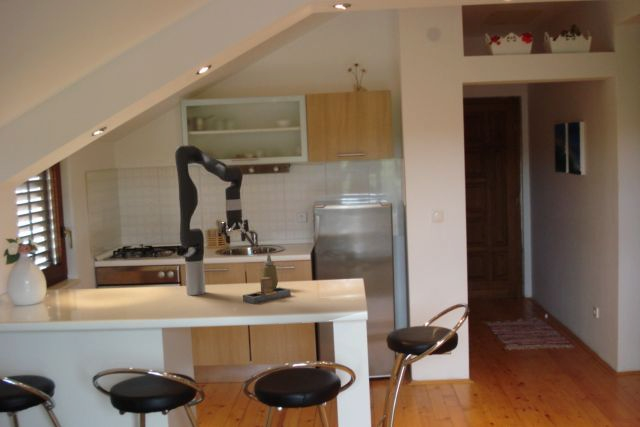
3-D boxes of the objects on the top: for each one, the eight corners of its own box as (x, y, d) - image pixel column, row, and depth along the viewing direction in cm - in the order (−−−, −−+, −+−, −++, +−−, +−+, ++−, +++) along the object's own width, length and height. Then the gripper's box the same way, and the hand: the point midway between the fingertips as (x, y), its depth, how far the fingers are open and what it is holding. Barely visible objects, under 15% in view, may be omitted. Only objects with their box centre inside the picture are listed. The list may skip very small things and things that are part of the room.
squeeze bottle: (281, 288, 362) (279, 253, 360) (272, 291, 356) (270, 256, 354) (268, 287, 367) (267, 252, 365) (259, 290, 360) (257, 255, 358)
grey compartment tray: (242, 301, 336) (242, 294, 336) (279, 293, 350) (279, 286, 350) (253, 304, 329) (253, 297, 329) (290, 295, 344) (290, 289, 343)
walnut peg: (261, 298, 340) (260, 278, 339) (268, 297, 343) (266, 277, 342) (266, 299, 337) (265, 279, 336) (272, 298, 340) (271, 278, 339)
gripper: (241, 206, 343) (243, 239, 345) (216, 209, 334) (219, 243, 336) (250, 207, 337) (252, 241, 339) (225, 210, 328) (227, 245, 330)
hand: (235, 242), depth 337 cm, fingers open, 8 cm apart
